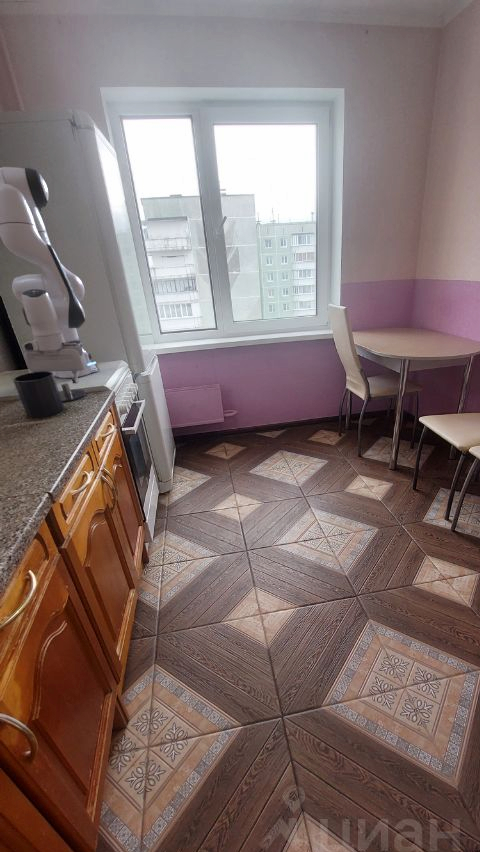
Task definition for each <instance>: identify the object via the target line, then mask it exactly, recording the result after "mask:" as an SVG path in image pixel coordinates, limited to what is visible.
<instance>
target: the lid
mask: <svg viewBox="0 0 480 852" xmlns="http://www.w3.org/2000/svg"><path fill="white" fill-rule="evenodd" d="M60 385H61V389H62V391H59V393H60V396H61V399H62V402H63V403H69V402H74V401H77V400H81V399H82V398H85V397H86V396H87V391H85V390H84V389H71V388H70V385H69V383H67V382H65V383H61V384H60Z"/></svg>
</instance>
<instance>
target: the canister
mask: <svg viewBox="0 0 480 852" xmlns="http://www.w3.org/2000/svg"><path fill="white" fill-rule="evenodd" d="M55 378H56V377H54V375H53V371H48V372H47V371H40V372H32V371H31V372H27V373H23V374H19V375H17V376H15V377H14V378H13V379H12V381H13V384H14V386H15V389H16V391H17V395H18V396H19V399H20V402H21V404H22V406H23V409H24V413H25V414H26V416H27V417H28V418H29V419H45V418H46V419H47V418H49V417H54V416H56V415H59V414H61V413H62V412H64V411H65V409H66V408H65V405H64V402H62V399H61V396H60V393H59V392H60V390H59V388H58V387H59V386H58V384H57V381H56V379H55Z"/></svg>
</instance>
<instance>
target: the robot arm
mask: <svg viewBox="0 0 480 852" xmlns="http://www.w3.org/2000/svg"><path fill="white" fill-rule="evenodd" d="M49 195H50V194H49V189H48V185H47V183H46V180H45V179H44V177H42V175H41V173H40V172H39V171H38V170H36V169H35V168H30V167H23V168H22V167H15V166H14V167H13V166H2V167H0V239H1V241H2V243H3V245H4V246H5V248H6V249H7V250H8V251H9V252H10V253H12V254H14V255H15V256H17V257H19V258H21V259H23V260H25V261H27V262H29V263H31V264H33V265H36V266H38V267H39V268H40V269H41V270H42V271H43V273H37V274H34V273H33V274H24V275H20V276H17V277H14V278H13V280H12V283H11V290H12V293H13V295H14V297H15V298H16V299H17V301H19V302H20V303H21V304H22V305H23V307H22V308H21V311H22V314H23V318H24V319H25V323H26V325H27V326H28V327H30V328H31V330H32V337H33V339H31V340H30V341H27V342H25V343H22V345H21V349H22V350H23V351H24V353H23V354H24V355H23V356H24V360H25V365H26V366H27V369H28V370H29V371H30V372H31V373H32V372H40V371H47V372H52V373H53V375H54V378H56V377H57V378H61V379H71V381H72V382H71V383H72V384H79V383H80V380H79V377H84V376H87V375H90V374H93V373H96V372H98V370H99V369H98V368H97V366H96V364H97V362H96V361H92V359H93V358H92V356H91V353H88V352H87V351H86V350H85V349H84V348H83V343H82V340H81V338H80V337H79V334H78V331H77V329H80V328H81V327H82V326H83V325H84V324H85V322H86V314H85V310H84V308H83V305H82V304H81V301H82V300H83V299H84V297H85V292H86V291H85V286H84V283H83V282H82V280H81V279H80V277H79V276H77V274H74V273H72V272H71V271H70V270H68V269H67V268H66V267H65V266H64V265H63V264H62V263H61V261H60V259H59V257H58V253H56V250H55V249H54V248H53V246H52V244H51V241H50V238H49V234H48V232H47V229H46V225H45V222H44V220H43V218H42V216H41V214H40V212H42V211H43V208H46V206H47V205H48V203H49Z"/></svg>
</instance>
